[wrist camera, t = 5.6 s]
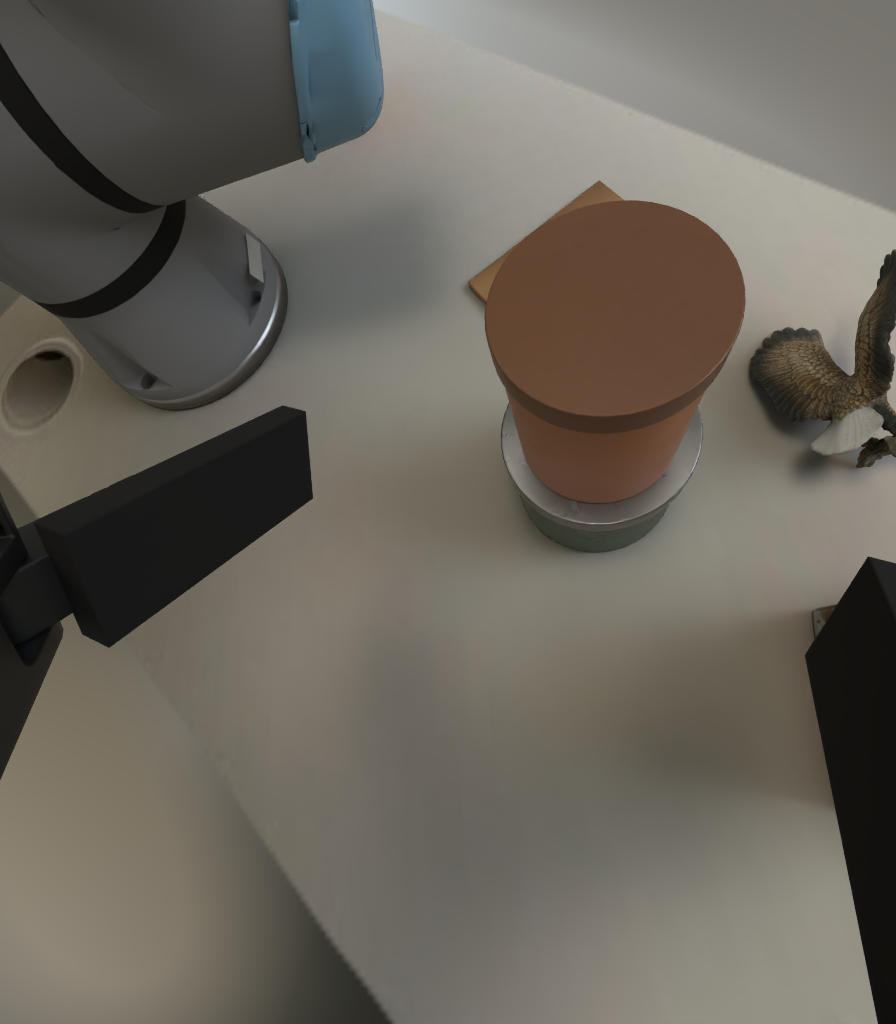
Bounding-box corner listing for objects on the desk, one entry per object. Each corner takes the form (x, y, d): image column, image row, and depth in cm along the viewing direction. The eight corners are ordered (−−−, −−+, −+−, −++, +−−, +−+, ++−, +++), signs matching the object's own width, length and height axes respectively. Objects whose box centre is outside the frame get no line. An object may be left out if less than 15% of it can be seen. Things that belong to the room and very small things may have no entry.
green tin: (488, 471, 31) (464, 422, 25) (604, 384, 31) (610, 311, 24) (581, 586, 28) (581, 565, 22) (710, 490, 28) (750, 440, 21)
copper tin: (487, 424, 24) (439, 302, 16) (608, 332, 24) (624, 159, 16) (584, 539, 22) (588, 467, 14) (720, 438, 22) (809, 301, 13)
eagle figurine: (996, 416, 25) (901, 257, 26) (1026, 414, 19) (905, 214, 21) (816, 481, 30) (744, 345, 31) (800, 495, 24) (714, 329, 26)
